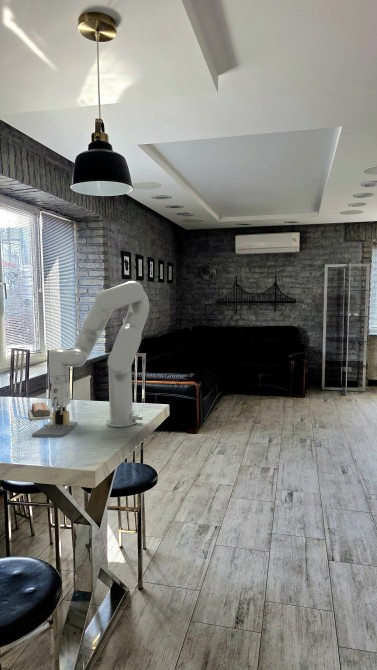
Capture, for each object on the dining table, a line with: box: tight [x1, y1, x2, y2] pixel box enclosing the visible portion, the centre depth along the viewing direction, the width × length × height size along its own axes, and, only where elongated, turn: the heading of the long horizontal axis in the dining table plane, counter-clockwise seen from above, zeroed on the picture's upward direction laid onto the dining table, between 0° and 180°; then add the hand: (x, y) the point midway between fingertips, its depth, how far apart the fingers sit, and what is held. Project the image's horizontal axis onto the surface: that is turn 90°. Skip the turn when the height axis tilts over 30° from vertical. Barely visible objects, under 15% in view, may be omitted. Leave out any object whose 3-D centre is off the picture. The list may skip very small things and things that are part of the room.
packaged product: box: [27, 402, 53, 422], centre depth 203 cm, size 18×5×10 cm
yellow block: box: [43, 410, 79, 429], centre depth 182 cm, size 12×6×6 cm, turn 85°
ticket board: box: [31, 426, 72, 438], centre depth 173 cm, size 12×10×1 cm
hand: (61, 422), depth 182 cm, fingers closed on yellow block, 3 cm apart
